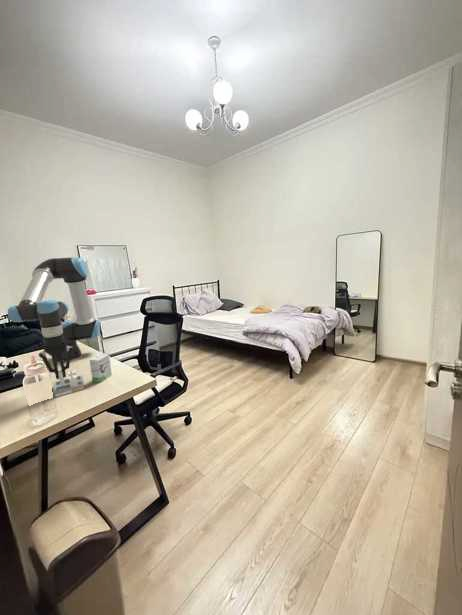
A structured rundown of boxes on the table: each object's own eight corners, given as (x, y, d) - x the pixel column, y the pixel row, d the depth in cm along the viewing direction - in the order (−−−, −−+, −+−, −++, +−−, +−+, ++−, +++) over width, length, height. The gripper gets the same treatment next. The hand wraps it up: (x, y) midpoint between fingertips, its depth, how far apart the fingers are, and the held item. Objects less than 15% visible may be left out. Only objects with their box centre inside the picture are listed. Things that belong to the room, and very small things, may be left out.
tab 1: (69, 380, 124) (68, 370, 123) (76, 378, 126) (75, 368, 125) (70, 383, 121) (68, 373, 120) (77, 381, 123) (75, 371, 122)
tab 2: (70, 385, 119) (68, 375, 118) (77, 383, 120) (75, 373, 119) (70, 388, 115) (68, 378, 114) (78, 386, 117) (76, 376, 116)
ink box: (103, 374, 133) (100, 353, 131) (112, 375, 132) (109, 353, 130) (92, 382, 124) (88, 359, 122) (101, 382, 123) (97, 360, 121)
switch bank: (54, 386, 122) (53, 382, 122) (82, 379, 128) (82, 375, 128) (54, 397, 111) (53, 392, 111) (85, 389, 118) (84, 384, 117)
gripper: (34, 340, 104) (44, 392, 109) (70, 333, 112) (79, 382, 116) (35, 336, 111) (45, 385, 115) (70, 330, 118) (78, 377, 122)
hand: (62, 384), depth 115 cm, fingers closed
